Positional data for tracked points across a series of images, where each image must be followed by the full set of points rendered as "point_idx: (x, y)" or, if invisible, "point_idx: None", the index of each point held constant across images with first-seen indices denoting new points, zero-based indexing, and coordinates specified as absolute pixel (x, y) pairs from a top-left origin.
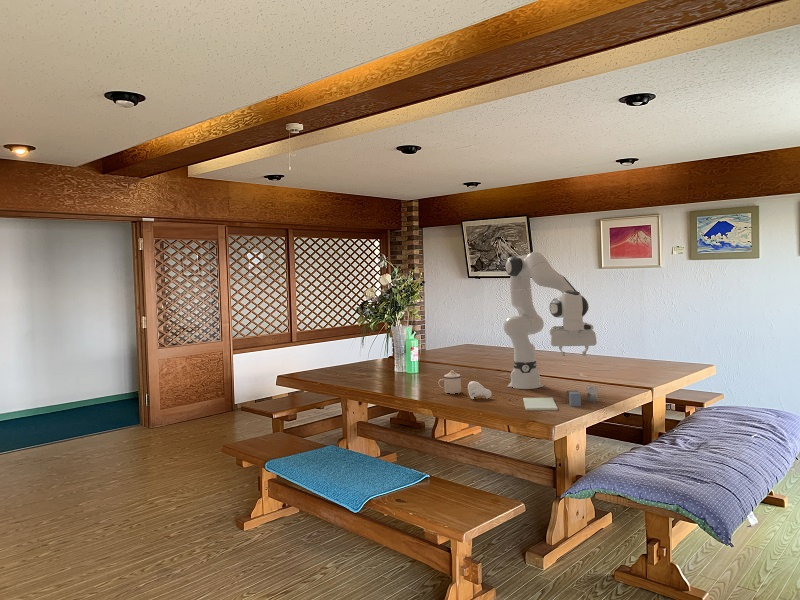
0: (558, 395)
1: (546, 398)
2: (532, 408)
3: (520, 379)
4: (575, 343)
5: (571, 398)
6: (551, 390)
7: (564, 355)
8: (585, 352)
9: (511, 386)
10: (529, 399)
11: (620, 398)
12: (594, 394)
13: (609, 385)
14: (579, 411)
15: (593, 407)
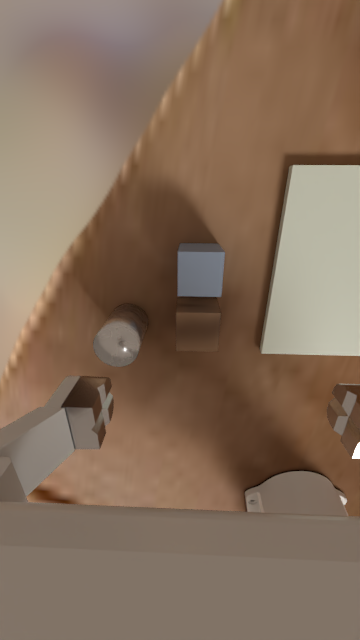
0: (225, 402)
1: (285, 342)
2: None
3: (329, 507)
4: (229, 601)
5: (218, 248)
6: (232, 457)
7: (348, 384)
8: (58, 399)
9: (339, 492)
10: (353, 330)
11: (38, 355)
12: (115, 316)
13: (70, 491)
14: (200, 141)
15: (134, 221)
